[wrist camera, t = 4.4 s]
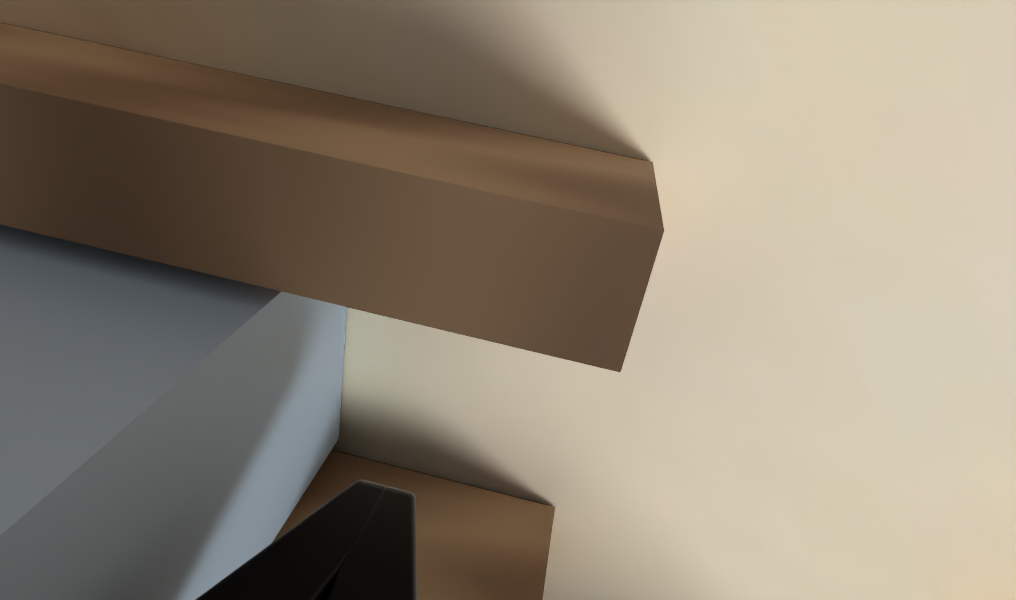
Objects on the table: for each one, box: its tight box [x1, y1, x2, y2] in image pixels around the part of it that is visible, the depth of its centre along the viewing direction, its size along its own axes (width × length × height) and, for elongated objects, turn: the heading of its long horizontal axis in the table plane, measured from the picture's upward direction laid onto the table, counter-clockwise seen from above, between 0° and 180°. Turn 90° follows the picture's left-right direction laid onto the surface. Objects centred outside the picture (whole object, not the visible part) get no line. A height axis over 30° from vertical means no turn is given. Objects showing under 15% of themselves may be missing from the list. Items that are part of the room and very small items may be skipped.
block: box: [0, 224, 347, 600], centre depth 9 cm, size 5×4×7 cm
